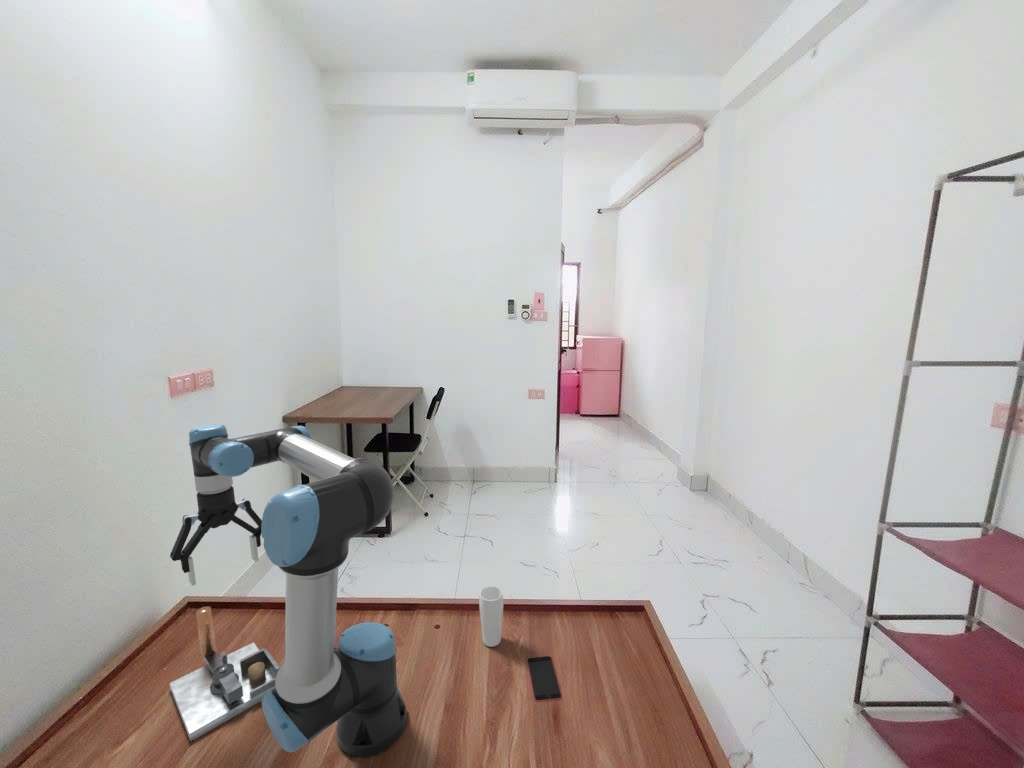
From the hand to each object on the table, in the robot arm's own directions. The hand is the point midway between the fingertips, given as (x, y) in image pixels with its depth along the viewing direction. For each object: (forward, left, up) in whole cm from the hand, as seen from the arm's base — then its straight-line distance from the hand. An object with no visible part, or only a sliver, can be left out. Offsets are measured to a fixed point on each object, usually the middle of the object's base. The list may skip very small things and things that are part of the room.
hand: (225, 570), depth 111 cm
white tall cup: (-39, -53, -30) cm, 73 cm away
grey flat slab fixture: (-3, +4, -29) cm, 30 cm away
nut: (-7, -3, -27) cm, 29 cm away
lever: (-1, +4, -27) cm, 27 cm away
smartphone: (-58, -53, -30) cm, 85 cm away
